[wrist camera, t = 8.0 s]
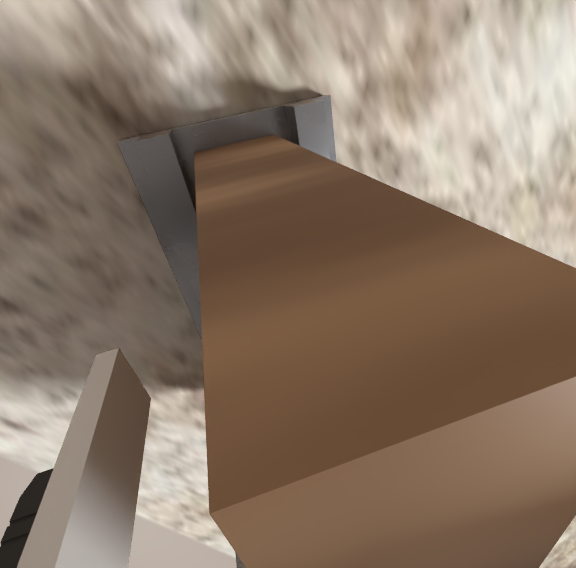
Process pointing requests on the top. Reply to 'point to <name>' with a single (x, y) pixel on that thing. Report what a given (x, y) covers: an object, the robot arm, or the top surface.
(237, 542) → the door panel
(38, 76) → the top surface
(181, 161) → the bottom track
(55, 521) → the robot arm
